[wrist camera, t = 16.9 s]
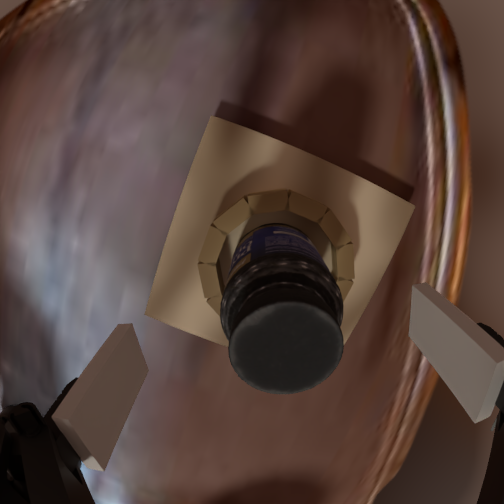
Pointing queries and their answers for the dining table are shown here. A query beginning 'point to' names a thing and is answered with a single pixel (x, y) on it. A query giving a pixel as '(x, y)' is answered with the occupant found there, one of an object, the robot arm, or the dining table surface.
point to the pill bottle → (281, 311)
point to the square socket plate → (264, 212)
